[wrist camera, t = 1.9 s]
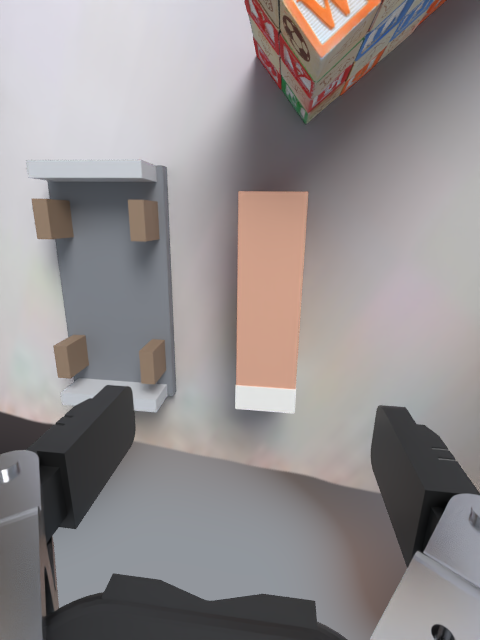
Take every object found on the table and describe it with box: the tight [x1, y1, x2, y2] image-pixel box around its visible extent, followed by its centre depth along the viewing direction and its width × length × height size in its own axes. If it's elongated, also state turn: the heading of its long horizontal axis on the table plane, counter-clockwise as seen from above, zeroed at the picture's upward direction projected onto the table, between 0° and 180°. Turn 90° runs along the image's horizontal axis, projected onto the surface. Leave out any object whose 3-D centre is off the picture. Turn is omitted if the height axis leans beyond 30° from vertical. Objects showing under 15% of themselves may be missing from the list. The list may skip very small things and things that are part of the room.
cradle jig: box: [26, 160, 176, 412], centre depth 30 cm, size 10×20×4 cm, turn 179°
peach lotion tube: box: [235, 191, 308, 414], centre depth 28 cm, size 5×16×6 cm, turn 179°
